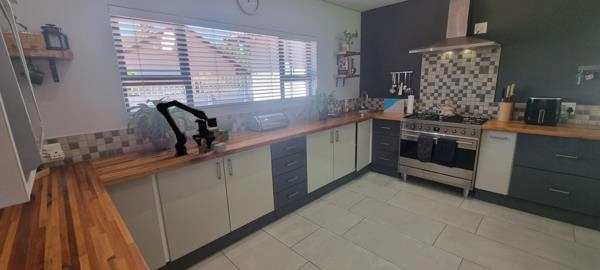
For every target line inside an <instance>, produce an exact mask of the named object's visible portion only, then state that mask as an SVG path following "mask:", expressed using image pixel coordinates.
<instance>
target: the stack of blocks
mask: <svg viewBox="0 0 600 270" xmlns="http://www.w3.org/2000/svg"><path fill="white" fill-rule="evenodd" d="M208 129H209V131H213V132H214V136H215V137H216V140H214V141H213V142H215V141H219V142H221V143H222V142H224V141H229V140H230V138H229V129H227V130H221V129H220V128H219V127H209V128H208ZM219 130H220V131H219ZM227 131H228V132H227ZM211 136H212V135H211ZM202 142H203V145H206V139H203V138H202Z"/></svg>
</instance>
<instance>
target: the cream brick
mask: <svg viewBox="0 0 600 270" xmlns="http://www.w3.org/2000/svg"><path fill="white" fill-rule="evenodd" d="M226 150H227V143H225V142H221V143H219V144H216V145H214V150H213V151H215V152H216V153H220V152H223V151H226Z"/></svg>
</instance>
